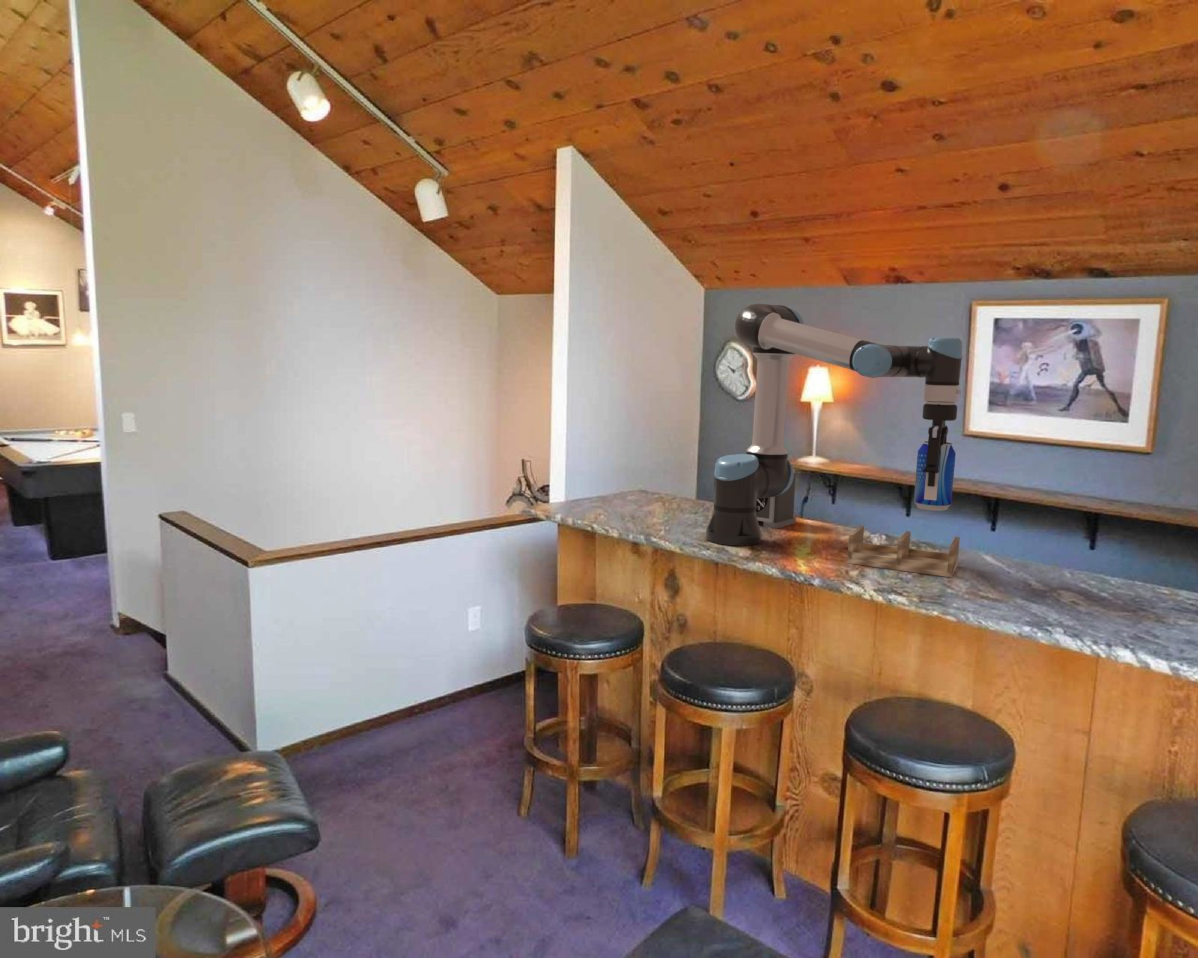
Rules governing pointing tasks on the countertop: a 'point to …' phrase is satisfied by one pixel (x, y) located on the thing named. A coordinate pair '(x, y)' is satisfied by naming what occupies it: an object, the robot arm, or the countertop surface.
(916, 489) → the beer can
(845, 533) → the countertop surface
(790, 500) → the alarm clock
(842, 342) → the robot arm
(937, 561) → the rack
